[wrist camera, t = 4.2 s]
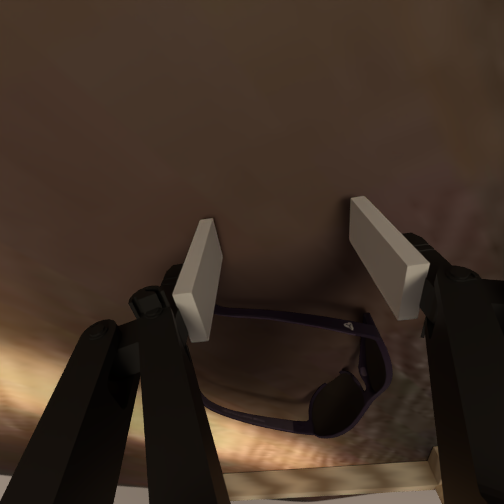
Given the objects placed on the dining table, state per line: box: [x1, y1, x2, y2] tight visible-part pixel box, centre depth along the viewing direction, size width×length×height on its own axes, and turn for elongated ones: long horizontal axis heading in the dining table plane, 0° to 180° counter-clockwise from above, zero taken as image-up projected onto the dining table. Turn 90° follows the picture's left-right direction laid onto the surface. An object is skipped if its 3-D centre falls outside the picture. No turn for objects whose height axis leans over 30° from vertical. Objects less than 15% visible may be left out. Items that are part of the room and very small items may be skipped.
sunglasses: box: [200, 304, 392, 438], centre depth 22 cm, size 14×16×5 cm
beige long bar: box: [223, 446, 444, 504], centre depth 34 cm, size 32×6×4 cm, turn 99°
